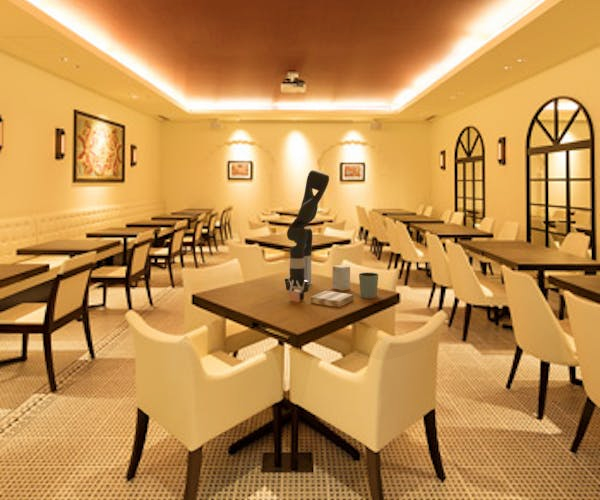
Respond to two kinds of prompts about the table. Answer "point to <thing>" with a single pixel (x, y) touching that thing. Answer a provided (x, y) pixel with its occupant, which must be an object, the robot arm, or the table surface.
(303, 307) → the table surface
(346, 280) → the small box
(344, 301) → the maple base
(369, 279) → the grey cylindrical piece
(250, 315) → the table surface
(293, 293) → the terracotta cube
